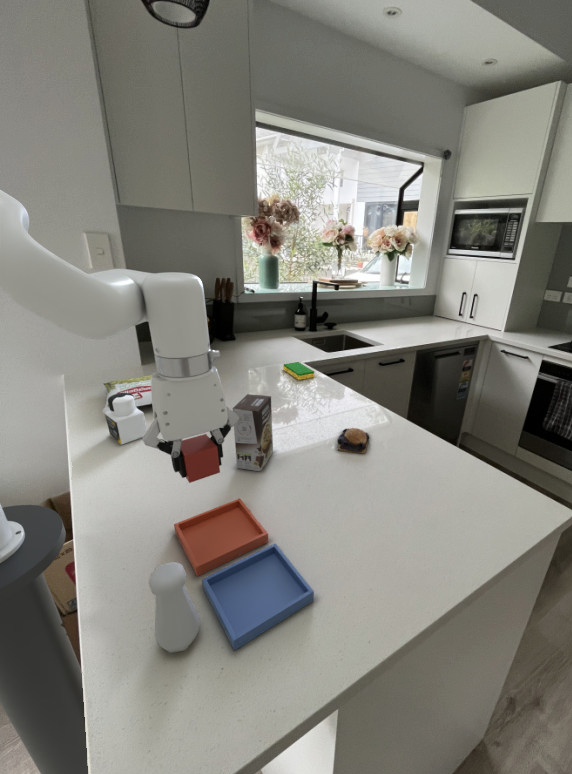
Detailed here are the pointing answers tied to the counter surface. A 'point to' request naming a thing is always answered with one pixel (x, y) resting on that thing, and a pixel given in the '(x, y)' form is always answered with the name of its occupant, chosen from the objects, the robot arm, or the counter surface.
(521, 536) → the counter surface
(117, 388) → the frozen beans
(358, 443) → the burger
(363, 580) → the counter surface
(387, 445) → the counter surface
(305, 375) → the dish sponge
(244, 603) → the blue tray
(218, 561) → the red tray
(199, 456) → the red block
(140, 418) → the medicine bottle
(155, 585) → the salt shaker
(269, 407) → the coffee box
